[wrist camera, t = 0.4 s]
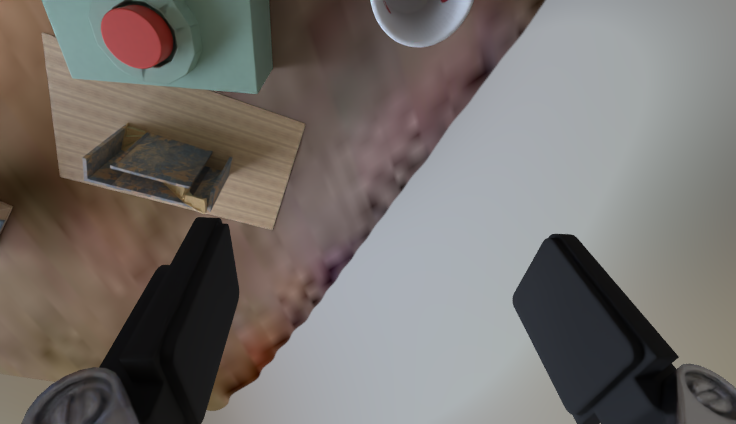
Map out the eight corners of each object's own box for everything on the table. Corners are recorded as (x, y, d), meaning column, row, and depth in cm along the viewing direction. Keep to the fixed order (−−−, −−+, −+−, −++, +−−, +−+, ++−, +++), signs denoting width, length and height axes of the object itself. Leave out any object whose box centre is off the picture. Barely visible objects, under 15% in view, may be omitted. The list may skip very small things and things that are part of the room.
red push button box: (94, -49, 28) (-2, -52, 20) (267, -27, 30) (242, -22, 22) (125, 55, 33) (56, 85, 25) (272, 69, 35) (253, 101, 27)
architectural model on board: (233, 153, 40) (207, 200, 32) (229, 175, 41) (203, 224, 34) (124, 121, 37) (67, 164, 29) (125, 145, 38) (70, 192, 30)
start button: (109, 1, 22) (91, 4, 21) (167, 7, 23) (153, 11, 21) (126, 59, 25) (110, 66, 23) (178, 64, 25) (167, 71, 23)
